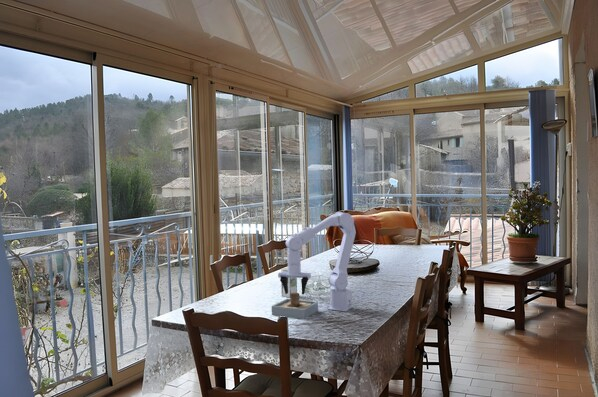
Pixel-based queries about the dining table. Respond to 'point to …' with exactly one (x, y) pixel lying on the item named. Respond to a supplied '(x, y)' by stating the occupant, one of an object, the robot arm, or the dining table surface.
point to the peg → (295, 300)
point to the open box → (294, 309)
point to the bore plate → (302, 305)
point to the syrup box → (289, 285)
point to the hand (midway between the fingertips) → (294, 293)
